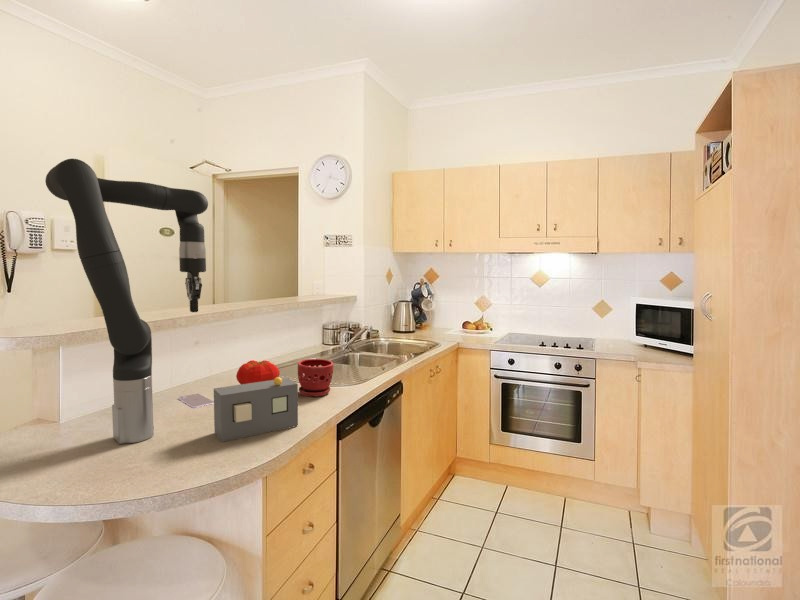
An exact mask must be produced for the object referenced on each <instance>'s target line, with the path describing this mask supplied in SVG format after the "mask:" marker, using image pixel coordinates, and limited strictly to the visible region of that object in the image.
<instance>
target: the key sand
mask: <svg viewBox="0 0 800 600" xmlns="http://www.w3.org/2000/svg"><path fill="white" fill-rule="evenodd" d="M232 407H233V420H234V421H235V422H242V421H247V420H252V405H251V404H250V403H249V402H244V403H238V404H232Z"/></svg>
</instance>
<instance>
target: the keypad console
mask: <svg viewBox="0 0 800 600" xmlns="http://www.w3.org/2000/svg"><path fill="white" fill-rule="evenodd" d="M298 391H299V386H298V383H297V382H295V381H293V380H292V379H290V378H288V377H284V378H281V377H280V376H279V377H276V378H275V379H274V380H269V381H262V382H255V383H248V384H235V385H229V386H221V387H215V388H213V401H214V404H213V417H214V418H213V420H214V425H213V426H214V434H215V435H216V436H217V438H218V439H219V440H220V441H221V443H223V442H228V441H232V440H237V439H243V438H247V437H253V436H257V435H262V434H267V433H271V431H272V432H277V431H281V430H285V429H284V428H286V429H290V428H289V427H291V428H294V427H293V426H296V427H298V426H299V412H298V411H299V410H298V409H299V407H298V405H299V403H298V401H299V399H298V398H299V397H298V395H299V393H298ZM280 396H286V397H287V410H286V411H280V412H275V413H272V398H274V397H280ZM244 402H249V403H250V404H251V405H252V420H247V421H242V422H235V421H234V420H233V407H232V404H238V403H244ZM297 425H298V426H297ZM276 430H277V431H276ZM252 435H253V436H252Z"/></svg>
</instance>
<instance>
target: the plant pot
mask: <svg viewBox="0 0 800 600" xmlns="http://www.w3.org/2000/svg"><path fill="white" fill-rule="evenodd" d="M333 375H334V362H333V361H331V360H328V359H324V358H323V359H322V358H309V359H308V358H306V359H302V360H300V361H298V362H297V378H298V382H299V385H300V386H299V387H298V391H299V393H300V395H303V396H306V397H311V396H315V397H322V396H325V395H328V394H329V392H331V387H330V385H331V383H332V380H333Z"/></svg>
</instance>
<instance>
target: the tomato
mask: <svg viewBox="0 0 800 600" xmlns="http://www.w3.org/2000/svg"><path fill="white" fill-rule="evenodd" d="M280 375H281V374H280V369H279V367H277V366H276V365H275V364H274V363H273V362H270V361H269V360H262V361H258V360H254V359H253V360H248V361H247V362H246V363H243V364H242V365H241V366H239V368H238V370H237V372H236V375H235V377H236V380H237V382H238V383H239V385H241V384H248V383H255V382H262V381H269V380H274V379H275V378H276V377H280Z"/></svg>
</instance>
